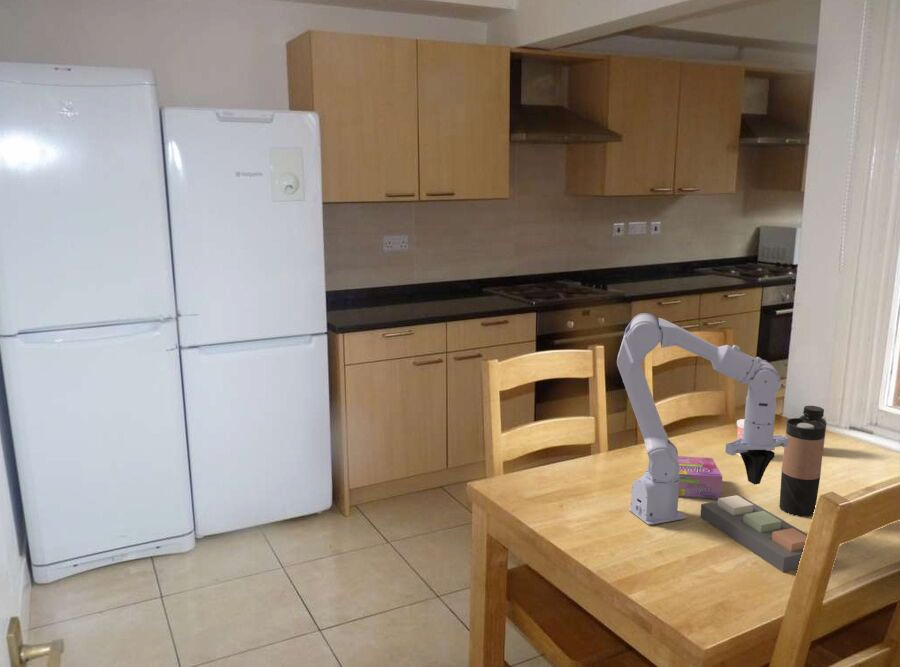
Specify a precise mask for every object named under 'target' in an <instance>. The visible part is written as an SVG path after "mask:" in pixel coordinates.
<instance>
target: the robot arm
mask: <svg viewBox="0 0 900 667" xmlns="http://www.w3.org/2000/svg"><path fill="white" fill-rule="evenodd" d="M659 344H660V347H661V349H662V348H668V347H673V346H674V347H675V346H676V347H679V348H681V349H683V350H685V351H687V352H690V353H692V354H694V355H697V356H698V357H700V358H703V359H705V360H708V361H710V363H711V365H712V369H713V370H714V371H716V372H719V373H720V374H722V375H724V376H726V377H729V378H731V379H733V380H734V381H737V382H739V383H740V384H745V385H746V384H747V385H748V386H747V394H746V398H745V408H744V409H745V410H744V418H743V419H744V431H743V438H740V439H738V440H737V439H736V440H733V441H731V442H728V443H725V449H724V450H725V451H724V453H726V454H727V455H730V456H736V454H737V453H740V455H741V457H740V458H741V459H742V461H743V464H744V468H745V471H746V476H747V482H749V483H751V484H753V485H760V484H761V481H762V479H763V476H764V473H765V471H766V470H767V468H768V466H769V465H770V463H771V462H772V461H773V459H774V458H775V454H776V453H775V451H774V450H775V449H776V448H778V447H782V448H784V447H788V439H789V438H787V437H785V436H786V435H781V434H779V435H774V430H775V423H776V422H775V420H776V410H777V394H778V392H779V390H780V388H781V387H782V381H781V377H780V373H778V371H777V370H776V368H775V367H774V365H773V364H771V363H769V362H768V360H766V359H762V358H761V357H760V356H756V357H754V356H752V355H749V354H747V353H745V352H743V351H741V347H740V346H738V345H736V344H733V345H732V346H731V345H729V344H724V345H720V346H717V345H715V344H713V343H711V342H709V341H707V340H706V339H704V338H702V337H700V336H698V335H697V334H694V333H692V332H691V331H689V330H687V329H685V328H683V327H681V326H679V325H677V324H675V323H673V322H671V321H668V320H666V319H664V318H661V317H658V318H657V317H656V316H654V315H653V314H651V313H646V312H645V313H638V314H637V315H635V316H634V317H633V318H632V319H631V321H630V322H629V323H628V324H627V326H626V328H625V330H624V334H623V338H622V340H621V345H620V348H619V351H618V354H617V359H616V366H617V368H618V371H619V374H620V376H621V379H622V383H623V385H624V388H625V391H626V394H627V396H628V398H629V402H630V404H631V407H632V410H633V412H634V415H635V418H636V421H637V424H638V427H639V429H640V433H641V435H642V438H643V441H644V445H645V450H646V454H647V457H648V465H647V468H646V469H645V471H644V475H642V476H641V477H639V478H636V479H634V481H633V482H632V485H631V502H630V507H629V508H628V511H630V512H631V513H633V515H635V516H636V517H637V518H639V519H640V520H641V521H642V522H644V523H645V524H647V525H649V526H652V525H658V524H662V523H669V522H673V521H680V520H685V519H686V518H687V516H686V515H685V514H684V513H682V512H680V511H679V510H678V508H679V497H678V495H679V480H680V475H679V468H680V467H679V463H678V456H679V454H678V453H679V452H678V449H677V447H676V445H675V444H674V443H673V442H672V441H671V440H670V439H669V437H668V434H667V432H666V430H665V428H664V425H663V423H662V419H661V416H660V415H659V411H658V408H657V406H656V402H655V401H654V397H653V395H652V391H651V389H650V387H649V383H648V381H647V377H646V375H645V372H644V370H643V366H642V363H643V362H644V360H645V358H646V356H647V354H649V353H650V352H652V351H653V350H654V349H655V348H656V347H658V345H659Z"/></svg>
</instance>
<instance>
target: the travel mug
mask: <svg viewBox="0 0 900 667" xmlns="http://www.w3.org/2000/svg"><path fill="white" fill-rule="evenodd" d="M824 434H825V435H826V433H825V425H824V424H823V423H821V422H819V421H815V420H813V421H811V422H808V421H803V420H802V419H801V418H800V417H795V418H790V419H788V420H787V422H786V429H785V435H784V436H785V437H787V438H789V439H788V447H783V455H782V456H783V457H782V466H781V476H780V477H781V478H780V491H779V508H780V510H781V511H783V512H784V513H786V514H788V513H789V515H791V514H793V515H792V516H795V515H798V516H797V517H802V516H806V517H812V516H813V515H814V514H813V512H814V509H815V510H816V508H815V505H816V506H817V501H818V493H819V487H820V482H821V481H820V480H821V474H822V473H821V472H822V471H821V470H822V462H823V453H824V448H823V444H824V445H825V440H824Z"/></svg>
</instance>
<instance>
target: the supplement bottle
mask: <svg viewBox="0 0 900 667" xmlns="http://www.w3.org/2000/svg"><path fill="white" fill-rule="evenodd" d="M802 413H803V415H801V416H800V417H799V418H801V419H802V420H803V421H808V422H811V421H813V420H815V421H819V422H821V423H823V424H824V425H825V434H824V441H825V440H826V439H825V438H826V431H827V425H828V424H827V421H826V419H825V418H823V417H824V416H825V415H824V414H825V409H824V408H823V407H821V406H816V405H805V406H803V412H802ZM824 447H825V443H824V444H823V449H825V448H824Z"/></svg>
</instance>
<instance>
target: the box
mask: <svg viewBox="0 0 900 667" xmlns="http://www.w3.org/2000/svg"><path fill="white" fill-rule="evenodd" d="M678 463H679V467H680V468H679V475H680V480H679V495H678V498H679V497H680V498H695V499H696V498H697V499H698V498H699V499H715V500H716V499H717V500H718V498H722V487H723V474H722V473H721V471H720V469H719V468H718V466H717V464H716V462H715V460H714V458H713V457H707V456H706V457H705V456H686V455H685V456H683V455H678Z"/></svg>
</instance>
